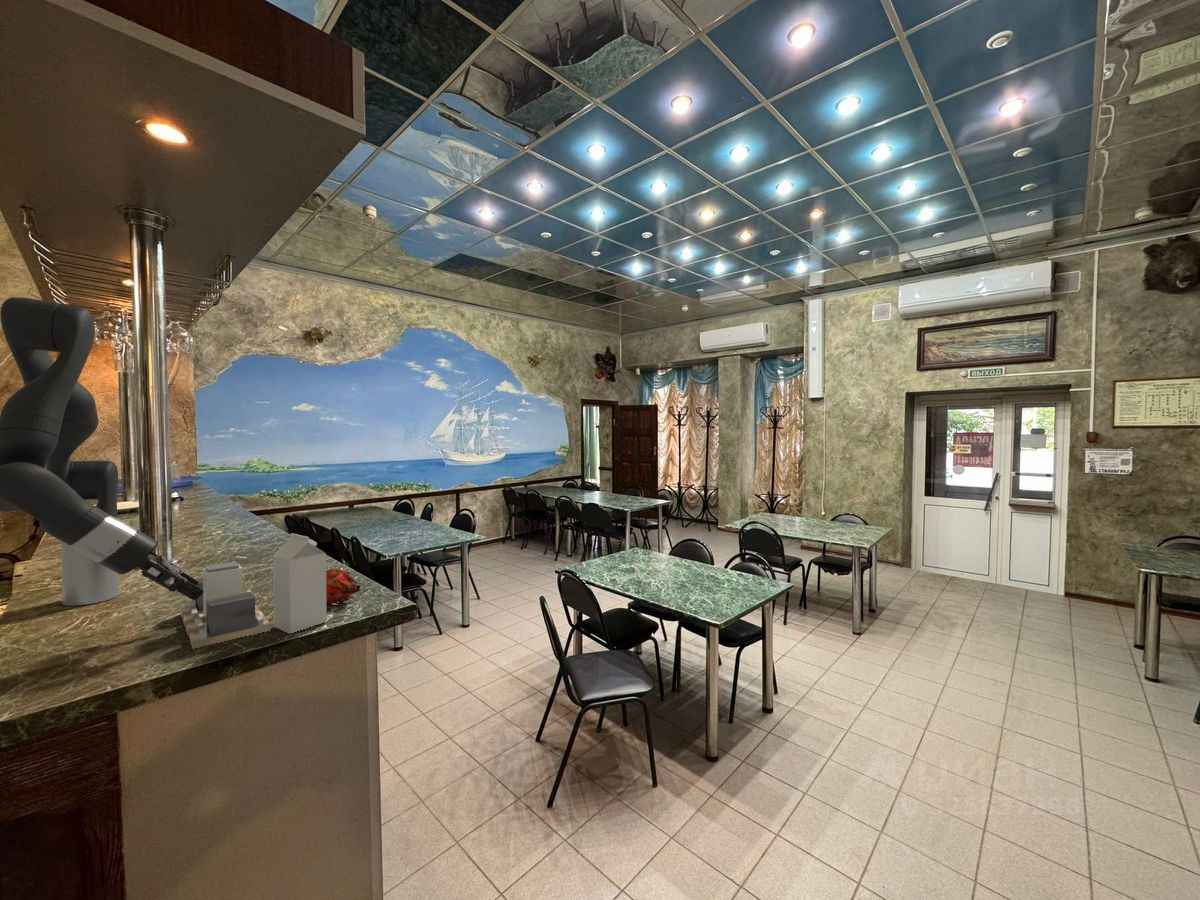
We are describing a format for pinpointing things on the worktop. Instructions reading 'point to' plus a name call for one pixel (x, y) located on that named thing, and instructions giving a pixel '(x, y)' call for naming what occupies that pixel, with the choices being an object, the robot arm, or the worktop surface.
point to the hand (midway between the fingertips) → (197, 590)
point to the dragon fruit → (339, 585)
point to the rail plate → (223, 618)
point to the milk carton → (299, 585)
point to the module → (221, 581)
